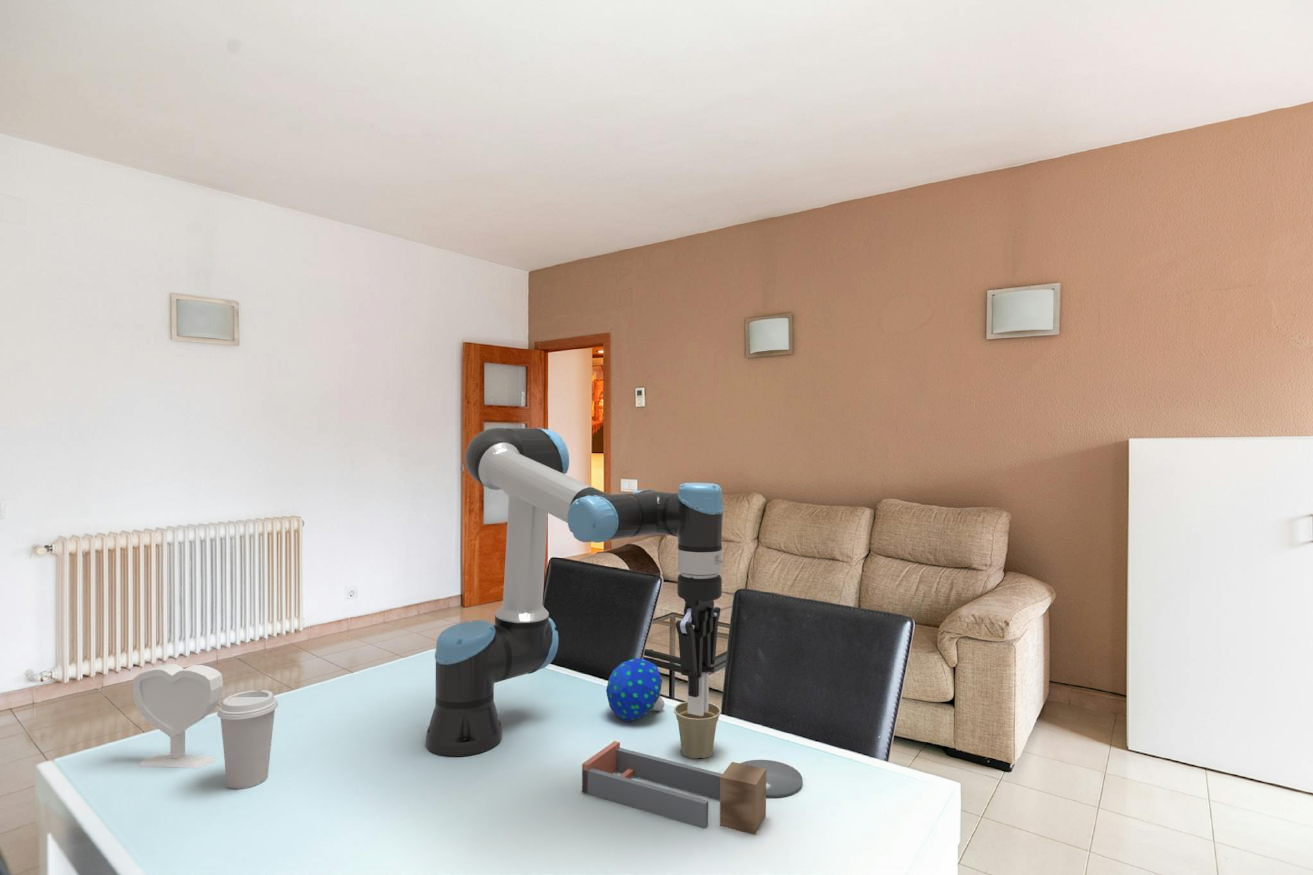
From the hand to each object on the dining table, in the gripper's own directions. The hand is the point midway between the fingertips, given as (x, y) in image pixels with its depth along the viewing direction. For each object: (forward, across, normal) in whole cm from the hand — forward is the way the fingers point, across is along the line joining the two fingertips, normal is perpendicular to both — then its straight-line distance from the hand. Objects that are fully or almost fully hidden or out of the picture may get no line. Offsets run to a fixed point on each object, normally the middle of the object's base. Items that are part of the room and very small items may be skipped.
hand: (697, 711), depth 121 cm
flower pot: (+17, +19, +9) cm, 27 cm away
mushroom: (+17, +29, +29) cm, 44 cm away
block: (+16, 0, -8) cm, 18 cm away
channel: (+16, 0, +8) cm, 18 cm away
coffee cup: (+17, -32, +75) cm, 83 cm away
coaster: (+16, +15, -7) cm, 23 cm away
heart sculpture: (+17, -34, +94) cm, 101 cm away
